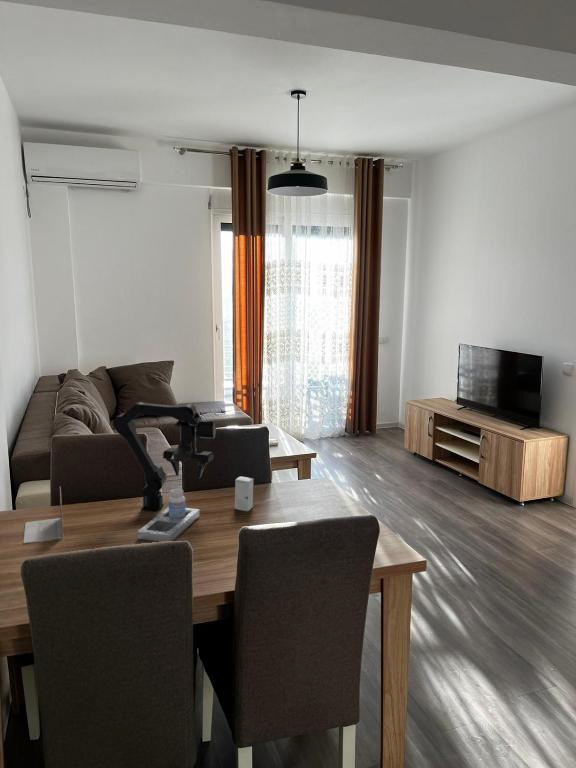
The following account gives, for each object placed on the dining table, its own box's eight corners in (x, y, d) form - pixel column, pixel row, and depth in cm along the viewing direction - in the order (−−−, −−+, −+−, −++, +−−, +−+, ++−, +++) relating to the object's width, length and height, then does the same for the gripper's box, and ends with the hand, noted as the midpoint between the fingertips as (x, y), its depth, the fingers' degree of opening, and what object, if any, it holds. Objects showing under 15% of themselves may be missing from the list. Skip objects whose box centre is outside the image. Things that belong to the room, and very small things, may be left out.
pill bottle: (171, 524, 209) (170, 494, 207) (166, 518, 215) (166, 489, 213) (187, 521, 212) (187, 492, 210) (182, 515, 217) (182, 486, 215)
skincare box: (234, 509, 226) (234, 479, 223) (239, 505, 230) (239, 475, 228) (248, 511, 223) (248, 481, 221) (253, 507, 227) (253, 478, 225)
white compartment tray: (137, 539, 198) (137, 531, 197) (170, 513, 221) (169, 505, 220) (170, 544, 195) (169, 535, 194) (199, 517, 217) (199, 509, 217)
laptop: (25, 524, 209) (23, 489, 207) (62, 519, 214) (60, 485, 212) (23, 545, 193) (20, 507, 191) (63, 539, 198) (61, 503, 195)
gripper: (155, 440, 215) (156, 481, 217) (202, 445, 210) (202, 486, 213) (169, 433, 225) (170, 472, 228) (214, 437, 220) (214, 476, 223)
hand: (188, 476), depth 223 cm, fingers open, 9 cm apart
